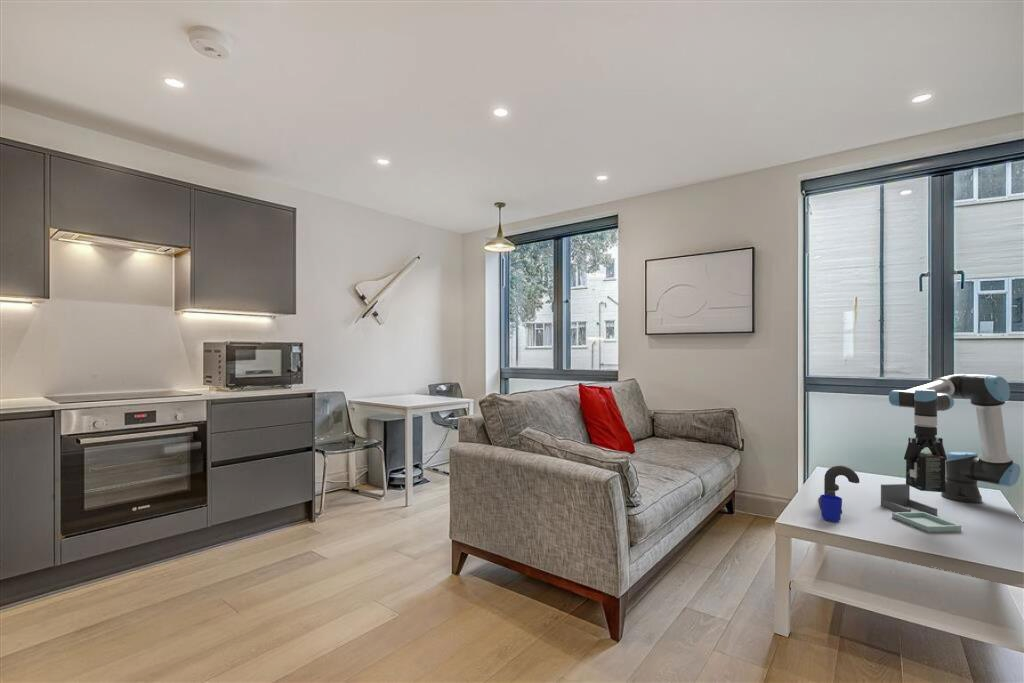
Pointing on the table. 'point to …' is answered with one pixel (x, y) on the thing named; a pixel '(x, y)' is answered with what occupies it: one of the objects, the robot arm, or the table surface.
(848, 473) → the faucet
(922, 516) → the tray
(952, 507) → the table surface
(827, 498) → the mug
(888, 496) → the bay
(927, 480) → the dark grey box
